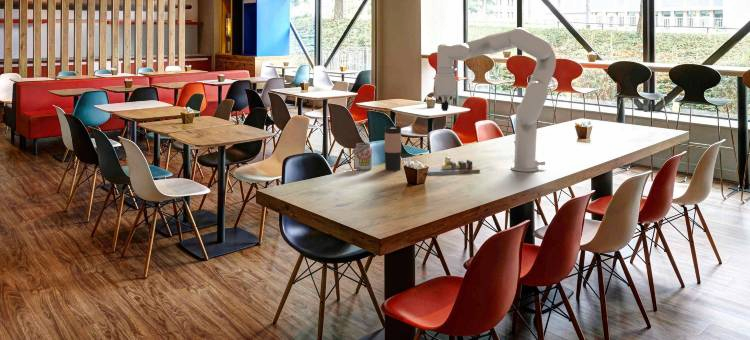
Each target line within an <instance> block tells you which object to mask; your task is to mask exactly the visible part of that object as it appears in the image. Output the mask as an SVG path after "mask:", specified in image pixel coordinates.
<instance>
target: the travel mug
mask: <svg viewBox="0 0 750 340" xmlns="http://www.w3.org/2000/svg"><path fill="white" fill-rule="evenodd" d="M401 160H402V127H401V126H396V125H392V126H385V127H384V164H385V165H384V167H385V171H388V172H397V170H398V171H400V170H401V168H402V167H401V164H402V163H401V162H402V161H401Z"/></svg>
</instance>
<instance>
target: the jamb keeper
mask: <svg viewBox="0 0 750 340" xmlns="http://www.w3.org/2000/svg"><path fill="white" fill-rule="evenodd" d="M457 162H458V163H457V164H461V168H459V169H457V170H459V174H458V175H462V174H463V175H464V174H480V173H481V172H480V171H481V170H480V168H478V167H476V166H474V165H473V161H472V160H471V159H466V161H465V160H458V161H457ZM466 164H468V168H466Z"/></svg>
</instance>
